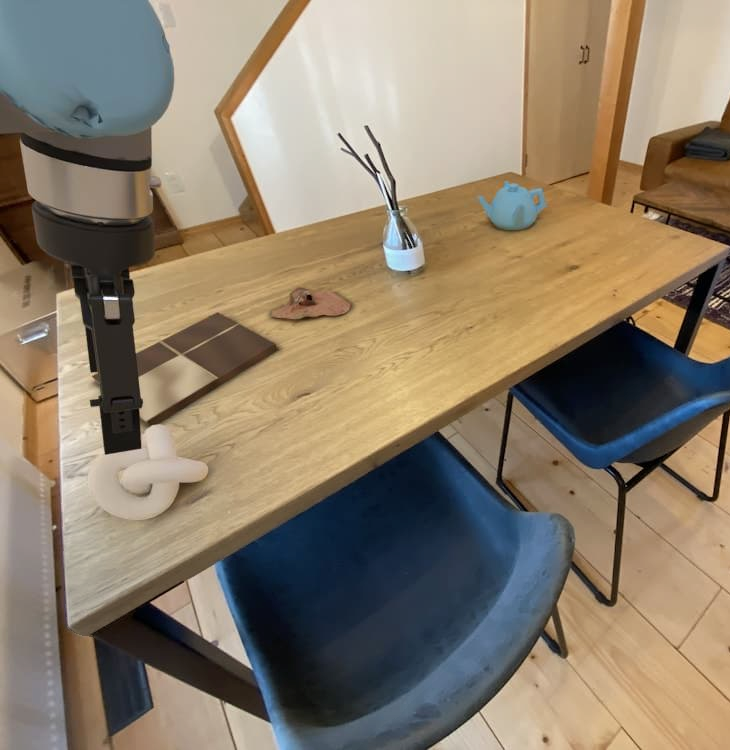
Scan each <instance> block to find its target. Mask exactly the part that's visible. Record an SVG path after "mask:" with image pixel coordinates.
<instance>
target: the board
mask: <svg viewBox="0 0 730 750" xmlns="http://www.w3.org/2000/svg"><path fill="white" fill-rule="evenodd" d="M278 350H279V349H278V346H277V344H276V343H275V342H273V341H271V340H269V339H268V338H266V337H264V336H262V335H260V334H258V333H257V332H255V331H253V330H251V329H250V328H248V327H246V326H245V325H242V324H241V323H239V322H236V321H234V320H233V319H231V318H229V317H227V316H226V315H224V314H222V313H220V312H214V313H213V314H211V315H209V316H207V317H205V318H203V319H200V320H199V321H197V322H195V323H193V324H192V325H191V324H190V326H187V327H185V328H184V329H181V330H179V331H177V332H176V333H174V334H172V335H169V336H168V337H166V338H164V339H161V340H160V339H159V340H158V342H156V343H154V344H152V345H150V346H148V347H146V348H144V349H142V350H140V351H138V352H136V360H137V368H138V377H139V386H140V395H141V399H143V404H142V408H140V409H139V411H140V420H141V421H143V422H144V423H145V424H146V425H147V426H149V427H151V426H152V425H158V424H161V422H163V421H165V420H167V419H168V418H170V417H171V416H172V415H173V416H174V414H176V413H178V412H179V411H181V410H183V409H184V408H185V407H187V406H189V405H190V404H192V403H194V402H196V401H197V400H199V399H200V398H202V397H203V396H206V395H207V394H208V393H210V392H212V391H213V390H215V389H217V388H219V387H220V386H222V385H223V384H224V383H226V382H228V381H229V380H231V379H233V378H234V377H236V376H237V375H239V374H241V373H242V372H244V371H246V370H247V369H250V367H252V366H254V365H256V364H257V363H259V362H260V361H262V360H264V359H265V358H267V357H268V356H270V355H272V354H273V353H274V352H276V351H278ZM91 377H92V379H93V380H94V381H95V382H96V383H97V384H98V385H99V378H98V372H96V373H95V374H92V375H91Z"/></svg>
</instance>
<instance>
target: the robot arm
mask: <svg viewBox="0 0 730 750" xmlns="http://www.w3.org/2000/svg"><path fill="white" fill-rule="evenodd" d="M170 47H171V46H170V44H169V42H168V39H167V38H166V33H165V29H164V28H163V24H162V22H161V20H160V18H159V17H158V15H157V13H156V11H155V9H154V7H153V6H152V4H151V2H150V0H0V135H2V134H3V135H4V134H19V144H20V151H21V157H22V165H23V169H24V175H25V181H26V188H27V193H28V195H29V196H30V197H32V198H33V199H34V200H35V201H34V202H32V204H31V213H32V218H33V219H32V220H33V224H34V231H35V239H36V242H37V245H38V246H39V248H40V249H41V250H42V251H43V252H44V253H46V254H47V255H49V256H51V257H53V258H54V259H57V260H59V261H62V262H65V263H69V264H70V274H71V278H72V280H71V281H72V283H73V290H74V296H75V297H76V298H77V299H78V300H79V305H80V311H81V319H82V325H83V326H84V329H85V338H86V346H87V355H88V365H89V371H90V373H92V374H93V373H98V378H99V384H98V385H99V392H100V395H98V397H97V398H94V399H89V405H90V408H94V407H99V416H100V426H101V434H102V442H103V444H102V445H103V451H104V452H103V453H105V455H107V454H113V453H119V452H125V451H131V450H137V449H142V447H141V440H142V431H141V430H142V429H141V419H140V411H139V409H140V408H142V404H143V399H141V395H140V386H139V377H138V368H137V360H136V353H137V351H136V343H135V334H134V324H135V322H136V317H135V309H134V300H133V298H134V296H135V293H136V292H135V284H134V280H133V278H131V276H130V268H133V267H140V266H143V265H146V264H148V263H149V262H151V261H152V260H153V259H154V257H155V254H156V242H155V237H156V236H155V220H153V218H152V217H151V216H150V215H151V214H152V213H153V211H154V200H153V199H154V194H153V191H152V190H151V188H152V189H160V188H162V180H161V179H160V177H158V176H156V175H153V170H152V165H153V158H152V156H153V145H152V141H153V140H152V139H153V138H152V136H153V135H152V133H153V132H152V131H153V130H152V128H153V126H154V125H155V124H156V123H158V122H159V120H161V119H162V117H163V116H164V115H165V113H166V112H167V110H168V109H169V107H170V104H171V101H172V98H173V93H174V89H175V66H174V61H173V60H174V59H173V57H172V54H171V48H170Z"/></svg>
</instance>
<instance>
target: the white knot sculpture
mask: <svg viewBox="0 0 730 750" xmlns="http://www.w3.org/2000/svg"><path fill="white" fill-rule="evenodd" d="M141 447H142V449H137V450H131V451H125V452H119V453H113V454H107V455H105V452H103V453H102V454H100V455H99V456H98V457H97V458H96V459H95V460H94V461H93V462H92V463H91V465H90V467H89V468H88V472H87V476H86V477H87V478H86V479H87V481H86V484H87V489H88V492H89V494H90V496H91V498H92V499H93V501H94V502H95V503H96V504H97V505H98V506H99V507H100V508H101V509H102V510H104V511H105V512H107V513H108V514H110V515H112V516H114V517H117V518H120V519H123V520H127V521H143V520H148V519H151V518H155V517H157V516H159V515H161V514H162V513H164V512H166V510H168V509H169V508H170V507H171V506H172V504H173V502H175V499H176V497H177V495H178V492H179V489H180V483H197V482H201V481H203V480H204V479H205V478H207V475H208V473H209V467H208V465H207V464H206V463H205V462H204V461H200V460H196V459H190V458H186V457H182V456H178V455H177V448H176V441H175V436H174V433H173V431H172V430H171V429H170V427H169V426H168V425H165V424H162V423H158V424H156V425H152V426H151V427H150V426H149V427H148V428H146V429H145V431H144V433H143V435H142V436H141ZM123 470H124V471H123ZM121 471H123V473H122V475H121V482H120V478H119V474H120V472H121ZM122 485H123V486H122ZM149 492H150V493H149ZM147 493H149V494H148V495H146V496H139V495H144V494H147Z"/></svg>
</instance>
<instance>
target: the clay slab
mask: <svg viewBox="0 0 730 750" xmlns="http://www.w3.org/2000/svg"><path fill="white" fill-rule="evenodd" d="M307 296H311V300H310V299H308V297H307ZM351 306H352V304H351V303H349V302H348V301H346V300H345V299H344V298H343V297H341V296H340V295H338V294H336V292H333V291H332V290H330V289H326V288H319V289H316V290H311V289H309V288H306V287H296V288H294V289H293V290H291V292H290V293H289V301H288V302H287V304H286V305H284V306H282V307H280V308H276V309H273V310H272V311H271V318H278V319H289V320H300V319H303V318H306V317H309V318H310V317H311V318H316V317H319V316H323V315H325V316H333V317H335V316H340V315H344V314H345V313H347V312H349V311H350V309H351Z"/></svg>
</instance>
